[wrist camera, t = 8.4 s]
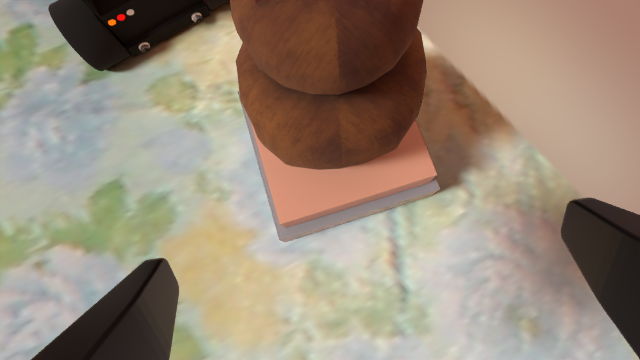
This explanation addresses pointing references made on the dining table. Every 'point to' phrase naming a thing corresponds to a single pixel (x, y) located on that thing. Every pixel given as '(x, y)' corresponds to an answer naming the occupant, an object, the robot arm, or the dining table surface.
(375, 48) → the wooden figurine
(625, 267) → the robot arm
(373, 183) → the brick plinth
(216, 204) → the dining table surface
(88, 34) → the black toy car
